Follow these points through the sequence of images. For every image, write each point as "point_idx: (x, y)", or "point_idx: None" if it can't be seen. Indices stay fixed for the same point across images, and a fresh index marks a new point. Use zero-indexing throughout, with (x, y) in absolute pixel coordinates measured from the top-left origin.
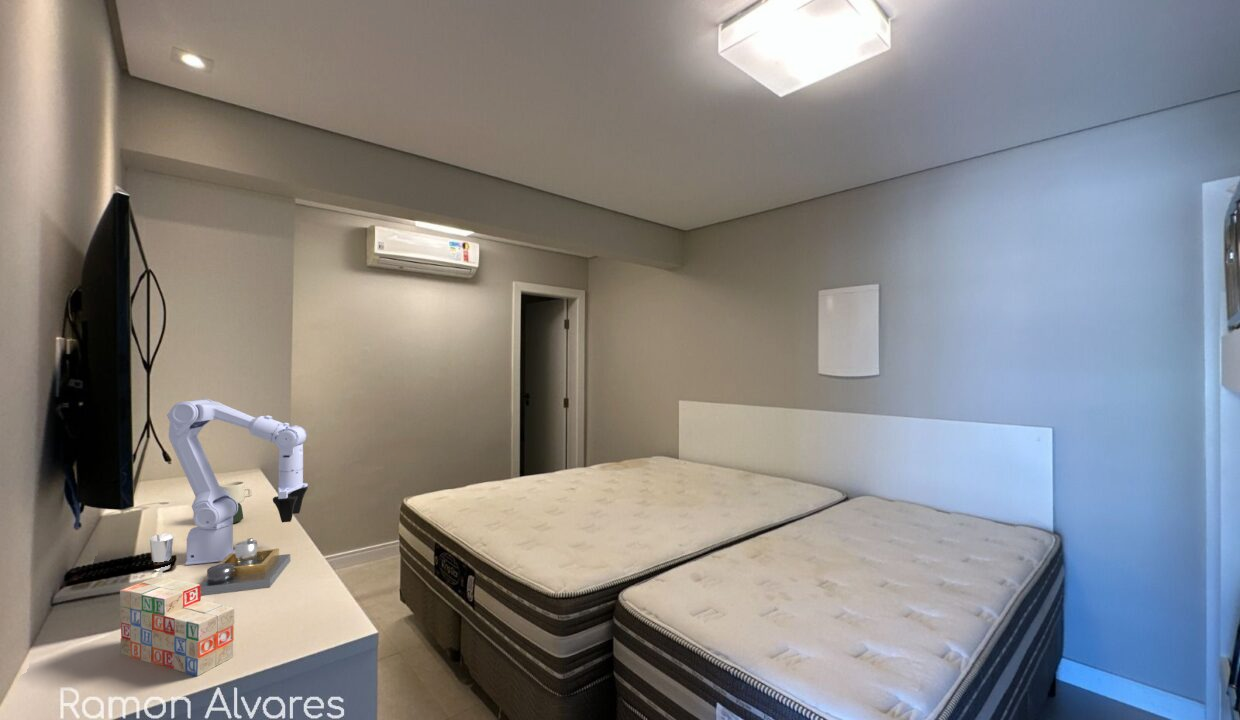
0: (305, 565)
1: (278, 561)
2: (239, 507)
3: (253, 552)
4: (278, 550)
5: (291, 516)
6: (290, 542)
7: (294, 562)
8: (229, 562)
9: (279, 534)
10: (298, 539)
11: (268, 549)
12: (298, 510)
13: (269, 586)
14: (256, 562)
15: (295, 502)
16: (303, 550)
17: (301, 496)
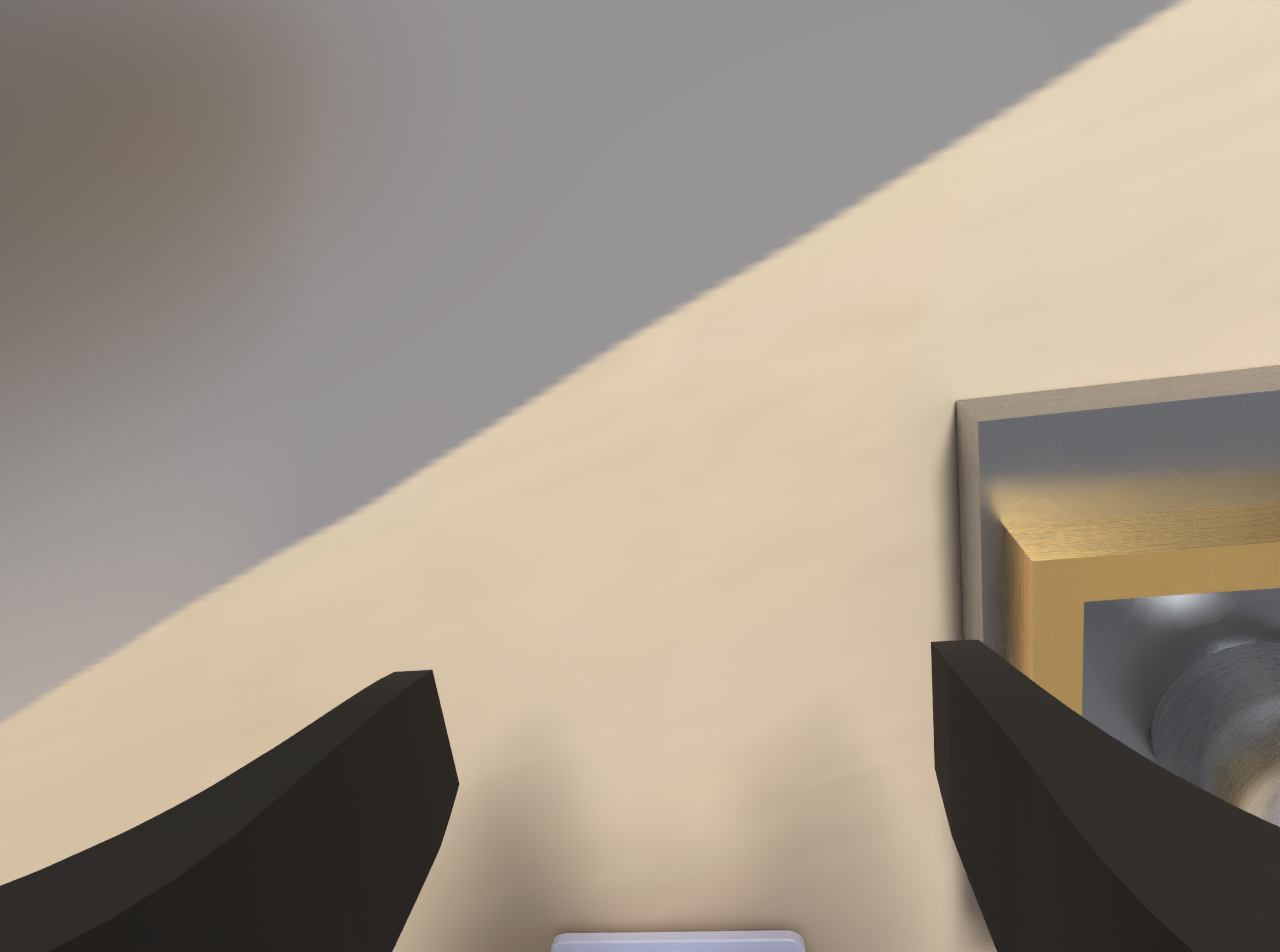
0: (1150, 173)
1: (1212, 461)
2: None
3: None
4: (1053, 551)
5: (1023, 678)
6: (384, 603)
7: (1002, 343)
8: None
9: (169, 770)
10: (303, 559)
11: (1032, 665)
12: (413, 705)
13: None
14: (1278, 660)
15: (335, 888)
16: (637, 387)
17: (207, 896)
